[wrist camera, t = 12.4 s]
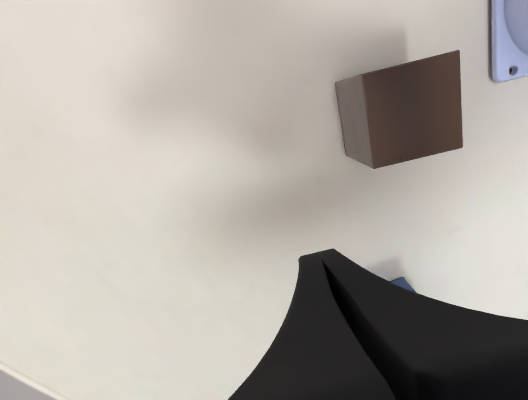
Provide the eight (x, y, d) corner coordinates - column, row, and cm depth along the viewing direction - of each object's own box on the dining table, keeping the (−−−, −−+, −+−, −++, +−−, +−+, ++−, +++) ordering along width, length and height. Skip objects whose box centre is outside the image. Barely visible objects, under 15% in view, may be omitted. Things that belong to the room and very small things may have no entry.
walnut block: (408, 64, 18) (460, 49, 13) (414, 139, 19) (463, 147, 15) (334, 82, 18) (361, 74, 13) (346, 155, 19) (373, 169, 15)
